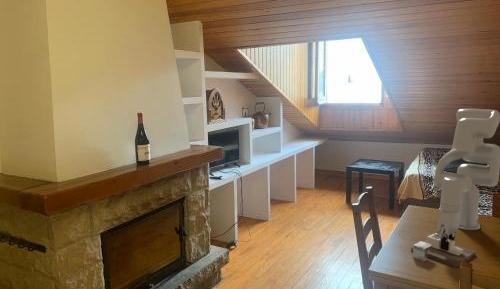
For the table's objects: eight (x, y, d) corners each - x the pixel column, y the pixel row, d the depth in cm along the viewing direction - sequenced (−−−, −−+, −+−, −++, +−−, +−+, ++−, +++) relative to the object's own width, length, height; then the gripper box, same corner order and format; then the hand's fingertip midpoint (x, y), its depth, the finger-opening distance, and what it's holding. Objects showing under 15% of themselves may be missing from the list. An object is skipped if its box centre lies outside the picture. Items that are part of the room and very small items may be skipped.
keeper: (420, 252, 163) (421, 240, 162) (431, 257, 159) (432, 244, 158) (412, 257, 159) (413, 244, 158) (424, 261, 156) (425, 248, 155)
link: (426, 245, 166) (427, 236, 165) (432, 242, 169) (433, 233, 168) (457, 256, 156) (458, 246, 155) (463, 252, 159) (464, 243, 158)
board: (431, 240, 175) (431, 237, 175) (475, 254, 160) (475, 251, 160) (411, 250, 165) (411, 247, 165) (456, 267, 150) (456, 264, 150)
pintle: (434, 245, 167) (435, 232, 166) (439, 246, 165) (440, 233, 164) (432, 246, 166) (433, 233, 165) (436, 247, 164) (437, 234, 163)
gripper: (450, 200, 166) (447, 239, 170) (431, 208, 156) (428, 250, 160) (468, 204, 161) (465, 245, 164) (449, 213, 150) (446, 257, 154)
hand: (447, 247), depth 162 cm, fingers closed on link, 4 cm apart
